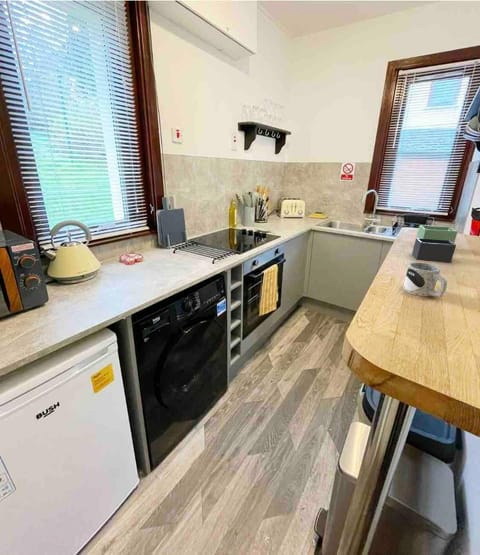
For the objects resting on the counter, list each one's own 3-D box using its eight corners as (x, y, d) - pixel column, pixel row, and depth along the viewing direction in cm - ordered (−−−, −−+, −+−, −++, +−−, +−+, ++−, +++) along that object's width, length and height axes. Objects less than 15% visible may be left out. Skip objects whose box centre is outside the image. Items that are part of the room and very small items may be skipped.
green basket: (443, 247, 107) (449, 226, 103) (451, 252, 100) (457, 231, 96) (414, 244, 109) (419, 225, 106) (419, 250, 102) (425, 229, 99)
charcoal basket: (444, 256, 96) (449, 240, 93) (450, 262, 90) (456, 245, 88) (411, 254, 99) (416, 237, 96) (416, 259, 93) (420, 242, 91)
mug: (397, 286, 73) (402, 263, 70) (417, 284, 74) (423, 261, 72) (429, 304, 64) (437, 278, 61) (452, 300, 65) (460, 275, 63)
